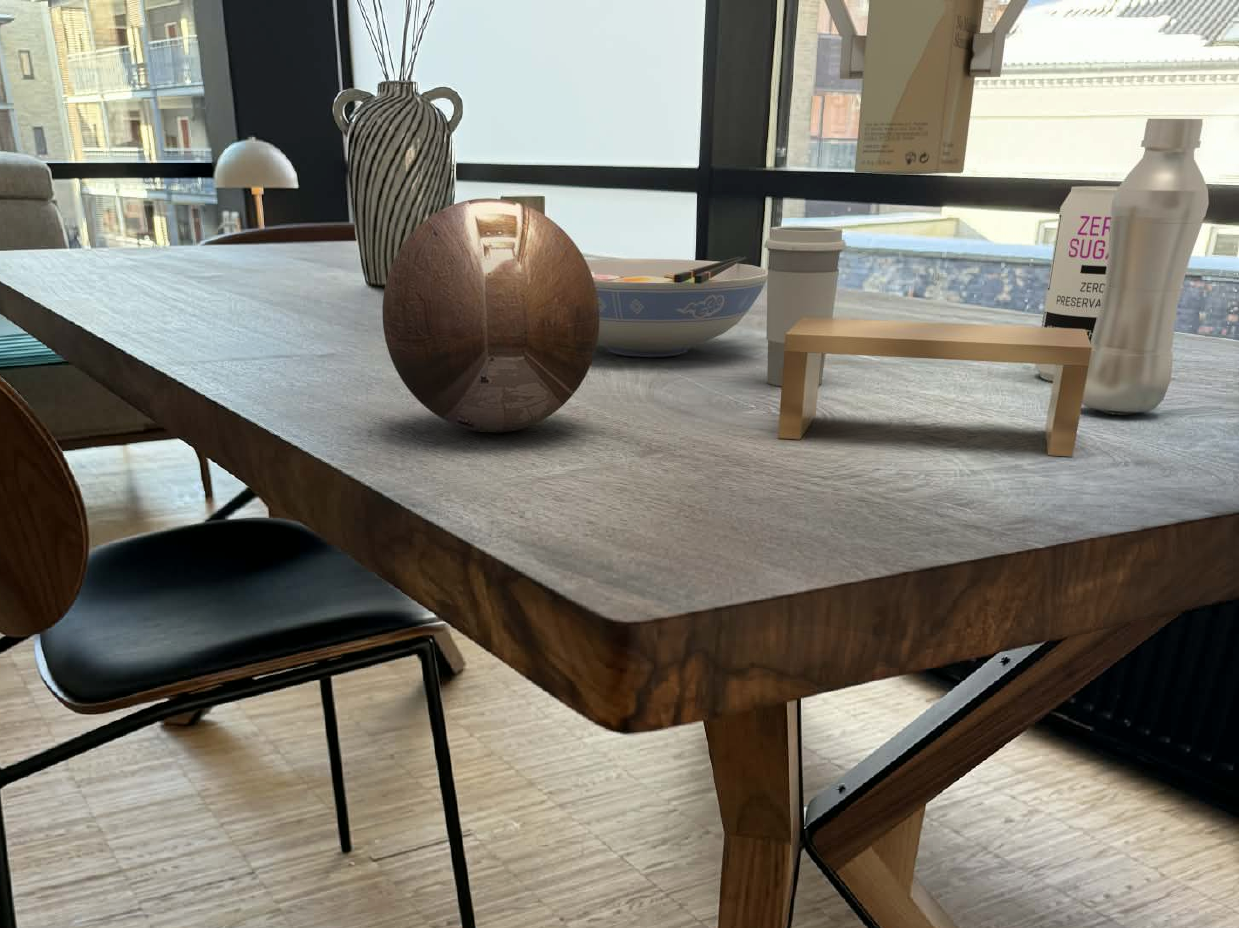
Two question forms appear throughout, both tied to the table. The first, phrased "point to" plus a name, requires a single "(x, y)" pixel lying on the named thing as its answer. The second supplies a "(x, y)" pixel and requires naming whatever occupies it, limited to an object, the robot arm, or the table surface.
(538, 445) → the table surface
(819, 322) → the shelf
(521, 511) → the table surface
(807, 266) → the cup
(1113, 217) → the plastic bottle
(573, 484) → the table surface
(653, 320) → the ramen bowl
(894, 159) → the box
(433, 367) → the copper ball
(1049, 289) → the supplement can
